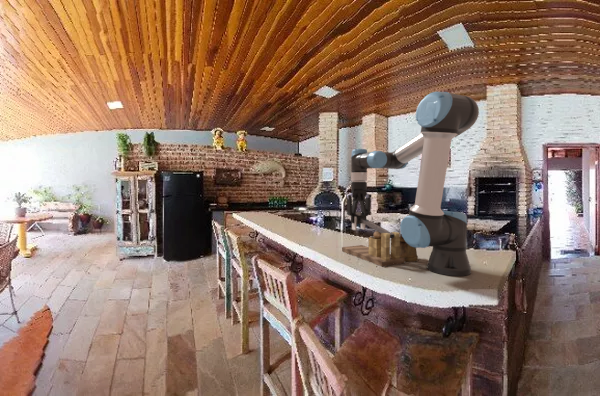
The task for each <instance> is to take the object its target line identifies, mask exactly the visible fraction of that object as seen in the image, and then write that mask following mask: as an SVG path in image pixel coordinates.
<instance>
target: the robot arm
mask: <svg viewBox="0 0 600 396" xmlns="http://www.w3.org/2000/svg"><path fill="white" fill-rule="evenodd" d="M479 109H480V108H479V105H478V103H477V102H476V100H475V99H474V98H472V97H471V96H467V95H461V94H456V93H451V92H447V91H432V92H430V93H429V94H427V95H425V96H424V97H423V99H421V101H420V102H419V103H418V105H417V107H416V111H415V120H416V121H417V124H418V125H419V126H421V127H420V133H419V134H417V136H415V137H413V138H412V139H410V140H409V141H408V142H406V143H404V144H403V145H401V146H400V147H399V148H397V149H395V150H394V151H392V152H387V151H386V152H385V151H382V150H373V151H368V150H367V149H366V148H354V149H352V150H351V157H350V159H351V161H350V168H351V169H350V170H351V173H350V177H351V178H350V181H352V182H351V183H350V188H351V189H350V190H351V192H350V193H348V194H346V195H345V197H346V215H348V216H349V217H350V223H351V230H353V231H357V223H356V220H357V217H356V216H355V214H356V212H357V208H358V204H359V205H360V210H361V211H360V212H361V213H363V214H365V215H366V217H368V216H369V215H370V214H371V199H372V194H369V193H368V192H367V188H368V184H367V183H368V182H367V181H368V170H369V169H382V170H383V169H385V170H387V169H388V170H389V169H390V170H403V169H405V168H407V165H408V164H409V162H410V161H412V160H414V159H415V158H417V157H419V156H420V155H421V159H420V166H419V173H418V180H417V187H416V194H415V202H414V204H413V205H412V206H411V207H410V208H409V210H408V211H409V212H408V215H406V216H405V217H404V218H403V219H402V220H401V222H400V225H399V226H400V229H399V230H400V234H402V237H403V238H404V240H405V242H406V243H407V244H409V245H410V246H412V247H415V248H416V249H417V248H419V249H420V248H421V249H425V248H428V247H429V248H430V247H432V250H431V252H430V255H429V259H428V261H427V264H426V265H427V266H426V268H427V270H429V271H430V272H433V273H435V274H440V275H444V276H455V277H459V276H460V277H461V276H462V277H464V276H468V275H471V273H472V266H471V265H470V260H469V257H468V254H467V236H468V235H467V234H468V232H467V231H468V221H467V220H468V216H467V214H466V213H464V212H459V211H449V210H442V208H441V206H442V200H443V195H444V187H445V181H446V175H447V169H448V164H449V157H450V150H451V145H452V139H454V138H456V137H458V136H460V135H462V134H463V133H465V132H466V131H469V130H470V129H471V128H472V127H473V126H474V125H475V123H476V122H477V121H478V118H479V116H480V115H479V114H480V110H479ZM360 230H366V224H364V223H361V224H360Z"/></svg>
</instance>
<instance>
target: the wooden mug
mask: <svg viewBox="0 0 600 396" xmlns="http://www.w3.org/2000/svg"><path fill="white" fill-rule="evenodd" d="M417 254H418V251H417V248H415V247H412V246H410V245H409V244H407V243H406V242H405V240H404V238H403V237H402V234H401V233H400V250H399V257H401V258H404V259H405V263H406V262H408V263H414V262H418V261H419V257H418V255H417Z"/></svg>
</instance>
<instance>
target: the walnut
mask: <svg viewBox="0 0 600 396" xmlns="http://www.w3.org/2000/svg"><path fill="white" fill-rule="evenodd" d="M372 237H374V238H375V239H381V233H380V232H378V231H376V230H374V232H373V236H372Z"/></svg>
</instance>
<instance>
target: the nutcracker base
mask: <svg viewBox="0 0 600 396" xmlns="http://www.w3.org/2000/svg"><path fill="white" fill-rule="evenodd" d="M390 232H391V233H393V234H394V238H390V234H388V233H381V239H375V238H374V236H371V237H368V246H366V245H362V244H361V245H359V244H358V245H352V246H342V247H341V252H343V253H345V254H349V255H351V256H353V257H356V258H358V259H362V260H364V261H367V262H369V263H372V264H373V265H377V266H379V267H388V266H396V265H402V264H405V263H406V261H405V259H404V258H401V257H399V250H400V234H401V232H397V231H390Z"/></svg>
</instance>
